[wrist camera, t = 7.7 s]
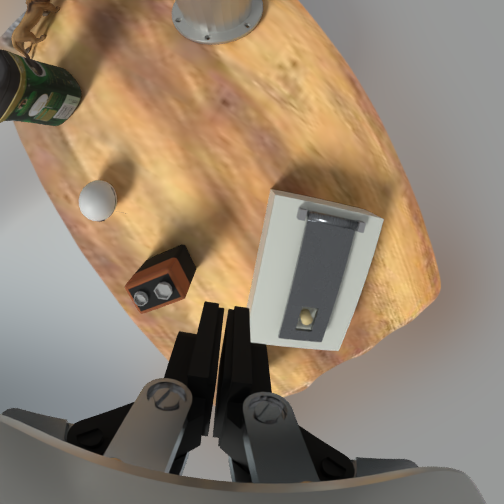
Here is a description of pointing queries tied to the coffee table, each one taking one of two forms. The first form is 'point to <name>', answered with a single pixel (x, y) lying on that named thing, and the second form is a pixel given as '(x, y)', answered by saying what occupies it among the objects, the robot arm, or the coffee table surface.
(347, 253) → the clasp strap
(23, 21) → the lion figurine
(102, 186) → the seamed sphere
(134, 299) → the battery
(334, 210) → the keepsake box
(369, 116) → the coffee table surface
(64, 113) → the coffee jar
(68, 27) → the coffee table surface
